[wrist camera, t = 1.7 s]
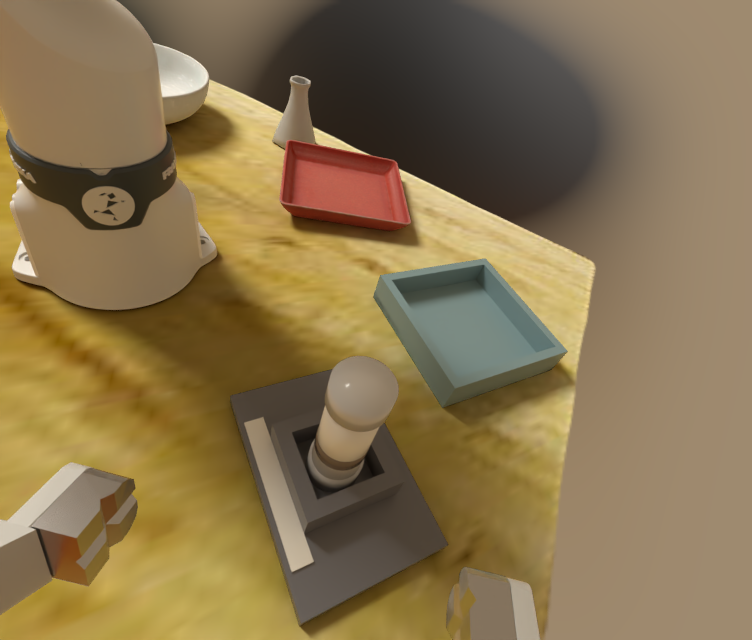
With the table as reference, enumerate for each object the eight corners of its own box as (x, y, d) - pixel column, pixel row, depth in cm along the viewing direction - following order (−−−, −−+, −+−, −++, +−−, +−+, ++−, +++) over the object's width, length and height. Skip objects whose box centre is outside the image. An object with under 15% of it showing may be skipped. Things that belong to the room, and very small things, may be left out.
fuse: (298, 450, 35) (318, 364, 27) (346, 434, 37) (379, 349, 29) (317, 501, 33) (347, 424, 25) (367, 481, 35) (410, 404, 27)
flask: (322, 142, 75) (331, 82, 68) (305, 158, 70) (313, 94, 63) (284, 127, 75) (289, 66, 68) (264, 142, 70) (267, 77, 63)
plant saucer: (392, 177, 73) (397, 159, 71) (405, 242, 61) (412, 223, 59) (284, 157, 69) (286, 138, 67) (276, 224, 57) (278, 202, 55)
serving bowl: (113, 156, 58) (102, 104, 53) (32, 91, 64) (15, 39, 60) (237, 128, 72) (237, 84, 67) (160, 76, 78) (155, 33, 73)
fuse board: (230, 401, 38) (229, 379, 36) (351, 369, 44) (358, 348, 41) (299, 626, 28) (305, 616, 26) (443, 548, 34) (460, 534, 31)
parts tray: (373, 296, 52) (380, 275, 49) (474, 278, 59) (485, 258, 56) (442, 407, 43) (455, 388, 41) (551, 369, 50) (567, 351, 48)
